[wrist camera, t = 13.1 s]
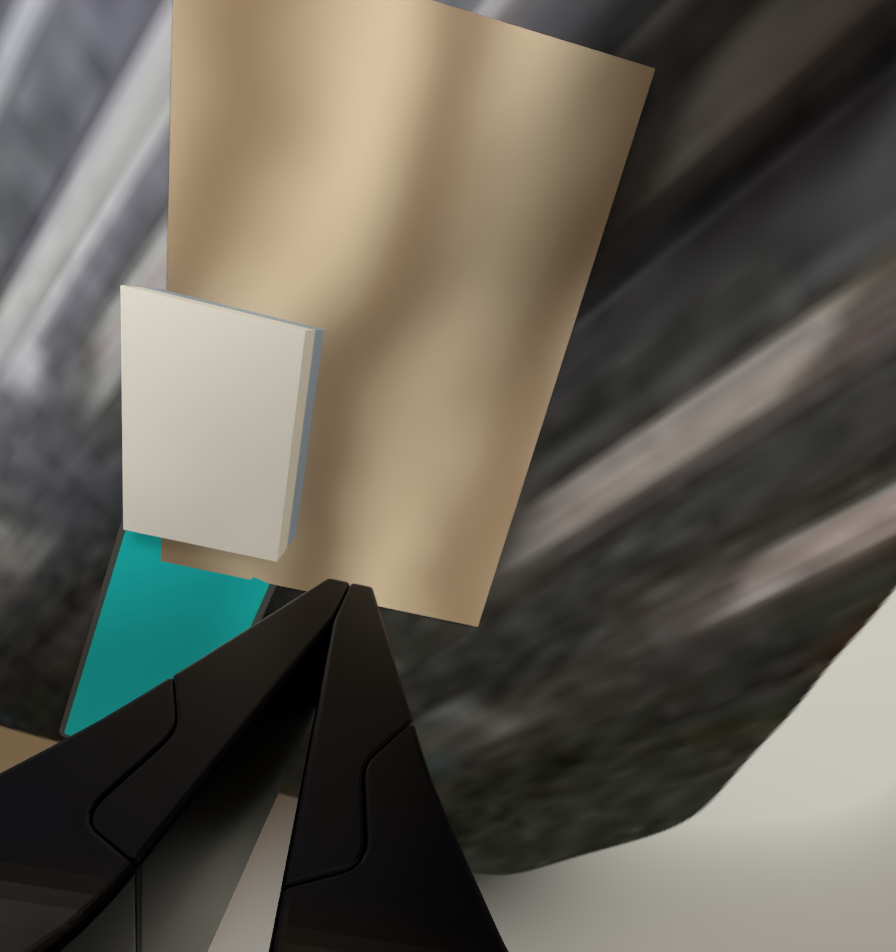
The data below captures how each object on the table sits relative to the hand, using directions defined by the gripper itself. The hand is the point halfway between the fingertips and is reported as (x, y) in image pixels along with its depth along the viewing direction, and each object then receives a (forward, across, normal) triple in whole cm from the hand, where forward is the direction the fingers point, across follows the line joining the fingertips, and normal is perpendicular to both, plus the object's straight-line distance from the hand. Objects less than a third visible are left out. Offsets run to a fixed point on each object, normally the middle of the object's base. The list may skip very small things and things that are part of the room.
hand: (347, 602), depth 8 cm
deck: (+9, +4, +1) cm, 10 cm away
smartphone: (+11, +10, +14) cm, 21 cm away
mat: (+11, +2, -3) cm, 12 cm away
